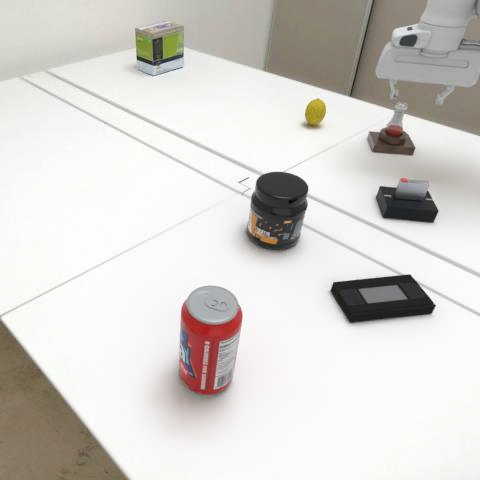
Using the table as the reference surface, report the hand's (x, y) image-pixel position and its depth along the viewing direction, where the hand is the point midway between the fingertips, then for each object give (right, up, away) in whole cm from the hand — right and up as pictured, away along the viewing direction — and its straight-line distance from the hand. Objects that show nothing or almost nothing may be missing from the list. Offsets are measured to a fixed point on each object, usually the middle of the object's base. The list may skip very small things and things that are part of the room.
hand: (415, 100), depth 104 cm
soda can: (-52, -52, -38) cm, 82 cm away
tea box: (-58, +32, +66) cm, 94 cm away
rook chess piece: (+7, -1, +24) cm, 25 cm away
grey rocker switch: (-6, -23, -8) cm, 25 cm away
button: (+2, -4, +14) cm, 15 cm away
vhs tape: (-21, -43, -27) cm, 55 cm away
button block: (+2, -7, +17) cm, 18 cm away
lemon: (-15, +1, +27) cm, 31 cm away
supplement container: (-36, -31, -13) cm, 49 cm away
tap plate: (-6, -25, -6) cm, 27 cm away
